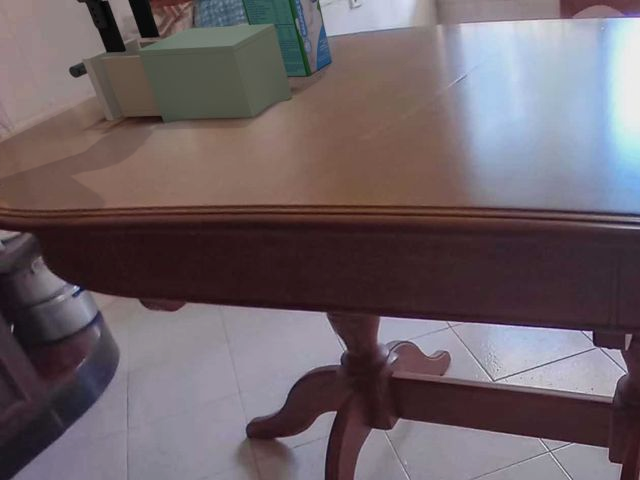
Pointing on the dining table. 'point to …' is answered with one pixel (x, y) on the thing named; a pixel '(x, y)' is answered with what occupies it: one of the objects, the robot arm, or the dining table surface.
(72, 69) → the drawer
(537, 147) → the dining table surface
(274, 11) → the milk carton
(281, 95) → the cabinet
